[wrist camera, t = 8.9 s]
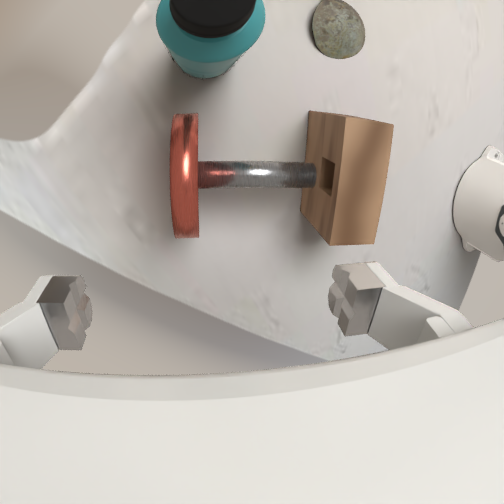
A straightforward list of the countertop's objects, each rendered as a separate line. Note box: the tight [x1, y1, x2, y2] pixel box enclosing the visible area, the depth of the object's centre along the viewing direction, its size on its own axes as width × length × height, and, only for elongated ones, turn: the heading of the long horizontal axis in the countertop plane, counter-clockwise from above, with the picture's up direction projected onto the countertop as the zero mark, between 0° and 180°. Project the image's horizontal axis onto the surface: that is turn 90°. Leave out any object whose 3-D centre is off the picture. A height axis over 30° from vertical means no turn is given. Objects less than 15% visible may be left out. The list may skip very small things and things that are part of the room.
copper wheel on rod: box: [170, 113, 317, 238], centre depth 28 cm, size 12×11×11 cm
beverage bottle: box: [156, 0, 265, 79], centre depth 18 cm, size 6×7×20 cm
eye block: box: [300, 111, 394, 246], centre depth 31 cm, size 5×12×9 cm, turn 178°
